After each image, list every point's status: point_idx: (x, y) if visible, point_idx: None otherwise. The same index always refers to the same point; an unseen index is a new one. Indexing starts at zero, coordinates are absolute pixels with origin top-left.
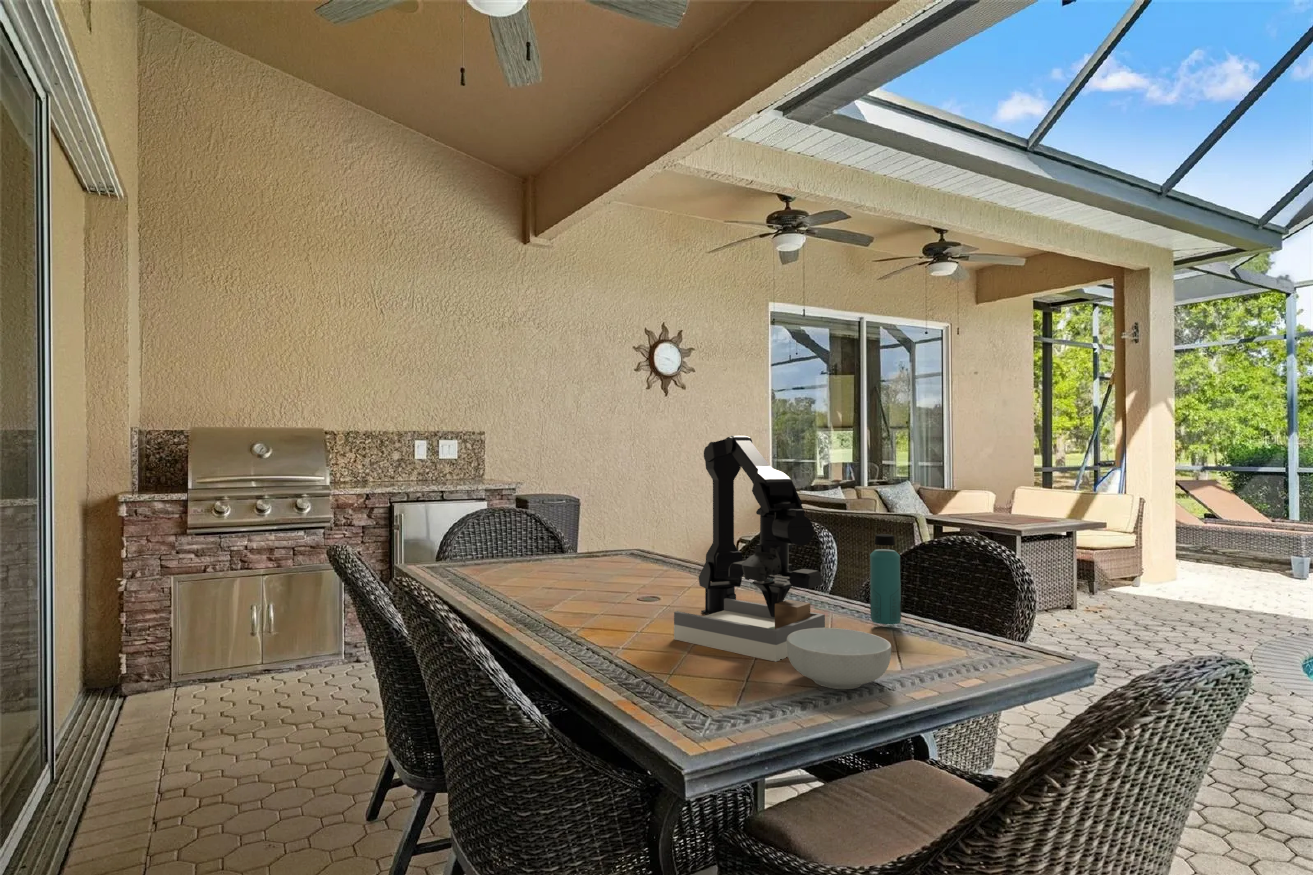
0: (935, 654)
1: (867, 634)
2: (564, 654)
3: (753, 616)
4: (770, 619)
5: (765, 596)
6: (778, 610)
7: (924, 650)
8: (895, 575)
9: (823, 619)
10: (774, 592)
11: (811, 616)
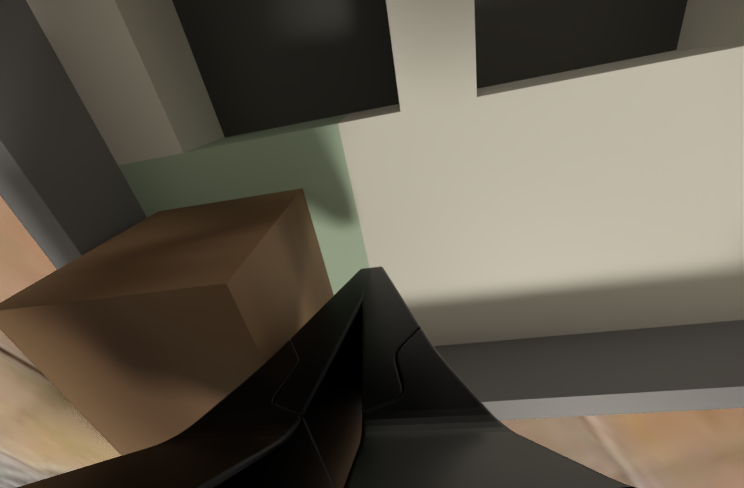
0: (16, 419)
1: None
2: None
3: (599, 317)
4: (479, 329)
5: (416, 362)
6: (214, 253)
7: (59, 429)
8: None
9: None
10: (234, 435)
11: None
